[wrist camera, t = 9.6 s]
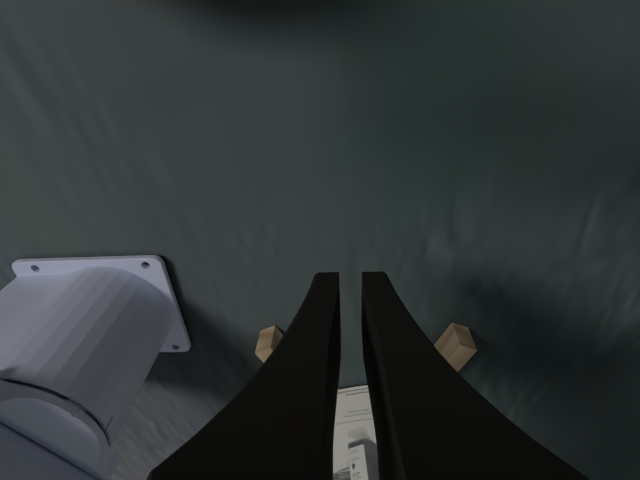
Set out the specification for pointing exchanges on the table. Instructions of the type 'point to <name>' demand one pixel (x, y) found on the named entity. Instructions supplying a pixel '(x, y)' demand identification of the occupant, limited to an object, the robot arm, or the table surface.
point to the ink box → (354, 436)
